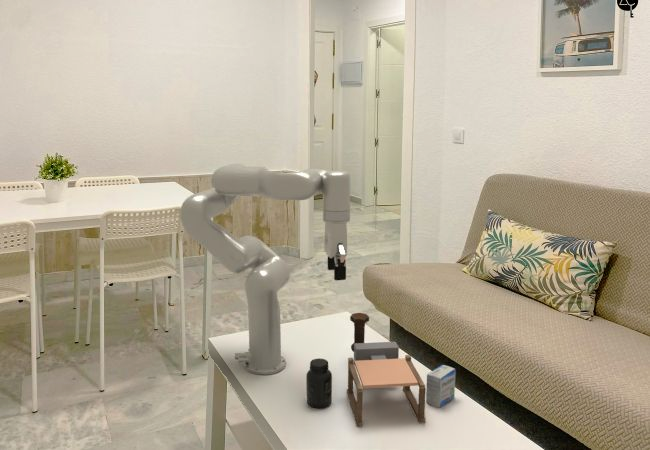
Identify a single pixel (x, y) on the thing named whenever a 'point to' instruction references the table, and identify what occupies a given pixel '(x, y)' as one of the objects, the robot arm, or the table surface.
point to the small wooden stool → (417, 408)
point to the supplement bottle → (319, 384)
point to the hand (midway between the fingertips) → (336, 274)
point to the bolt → (359, 327)
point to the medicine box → (440, 385)
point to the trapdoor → (382, 365)
